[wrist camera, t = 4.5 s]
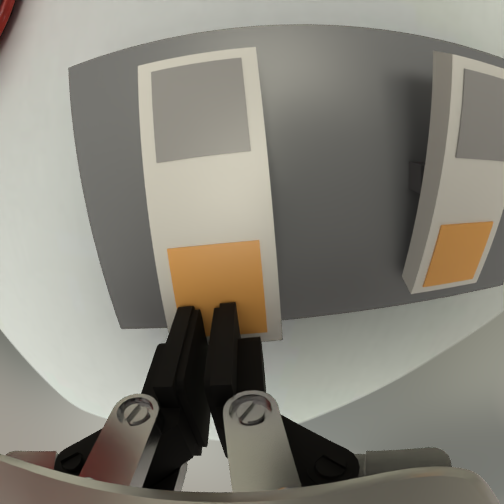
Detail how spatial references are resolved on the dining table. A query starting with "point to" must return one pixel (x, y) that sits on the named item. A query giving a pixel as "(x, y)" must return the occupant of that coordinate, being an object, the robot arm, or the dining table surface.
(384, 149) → the switch panel
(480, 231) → the rocker
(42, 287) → the dining table surface
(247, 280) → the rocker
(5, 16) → the plant pot
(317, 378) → the dining table surface
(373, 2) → the dining table surface
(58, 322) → the dining table surface
